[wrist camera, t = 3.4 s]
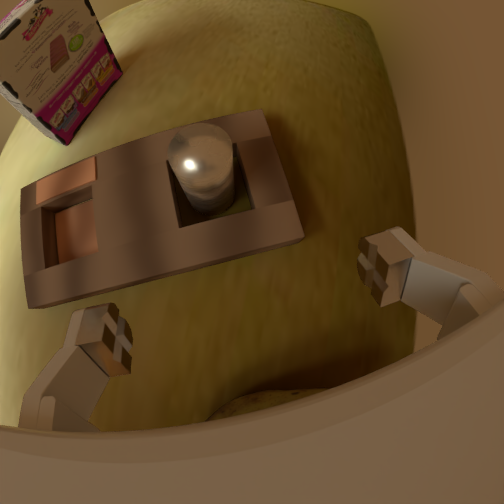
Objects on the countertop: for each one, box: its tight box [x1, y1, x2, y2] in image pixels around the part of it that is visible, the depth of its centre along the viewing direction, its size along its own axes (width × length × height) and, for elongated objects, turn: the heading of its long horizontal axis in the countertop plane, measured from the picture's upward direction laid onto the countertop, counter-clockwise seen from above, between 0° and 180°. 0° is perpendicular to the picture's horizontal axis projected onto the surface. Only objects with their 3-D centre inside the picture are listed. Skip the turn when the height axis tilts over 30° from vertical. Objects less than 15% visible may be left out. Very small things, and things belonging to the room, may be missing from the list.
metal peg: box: [168, 123, 235, 216], centre depth 20 cm, size 4×4×8 cm
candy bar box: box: [0, 0, 123, 146], centre depth 18 cm, size 11×5×16 cm, turn 154°
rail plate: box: [20, 109, 305, 309], centre depth 23 cm, size 25×12×3 cm, turn 105°
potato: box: [205, 387, 328, 422], centre depth 18 cm, size 8×13×8 cm, turn 81°
